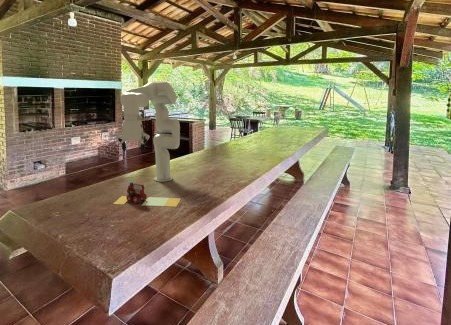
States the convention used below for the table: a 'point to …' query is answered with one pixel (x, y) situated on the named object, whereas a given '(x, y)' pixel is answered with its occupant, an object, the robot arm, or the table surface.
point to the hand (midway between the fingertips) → (133, 151)
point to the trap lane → (153, 201)
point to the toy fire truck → (135, 193)
